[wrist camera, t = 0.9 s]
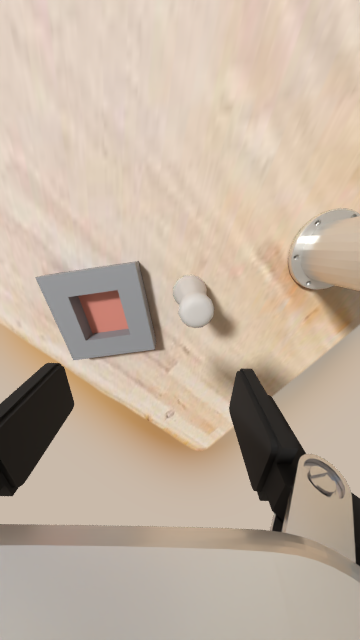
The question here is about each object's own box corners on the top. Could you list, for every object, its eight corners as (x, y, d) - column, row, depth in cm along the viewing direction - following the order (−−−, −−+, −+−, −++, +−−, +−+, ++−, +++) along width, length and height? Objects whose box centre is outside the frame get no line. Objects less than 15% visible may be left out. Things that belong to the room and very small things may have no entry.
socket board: (138, 261, 30) (134, 262, 27) (156, 341, 36) (154, 349, 33) (48, 274, 30) (35, 277, 27) (81, 351, 36) (73, 360, 34)
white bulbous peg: (202, 305, 33) (217, 337, 21) (172, 303, 33) (171, 335, 21) (206, 273, 31) (226, 290, 19) (174, 271, 31) (174, 287, 19)
